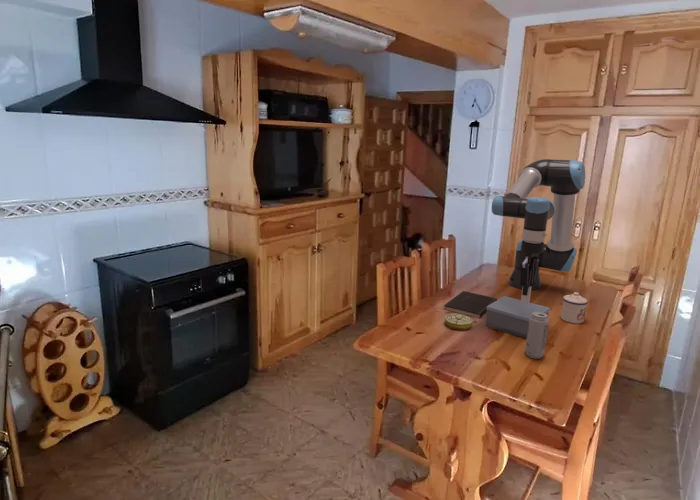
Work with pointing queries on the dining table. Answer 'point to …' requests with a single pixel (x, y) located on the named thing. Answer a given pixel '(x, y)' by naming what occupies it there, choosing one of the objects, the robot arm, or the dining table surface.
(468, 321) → the olive round disc
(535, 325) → the energy drink can
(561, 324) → the dining table surface
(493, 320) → the grey hinged box
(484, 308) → the hardcover book
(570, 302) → the teacup with lid
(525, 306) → the gray box lid
